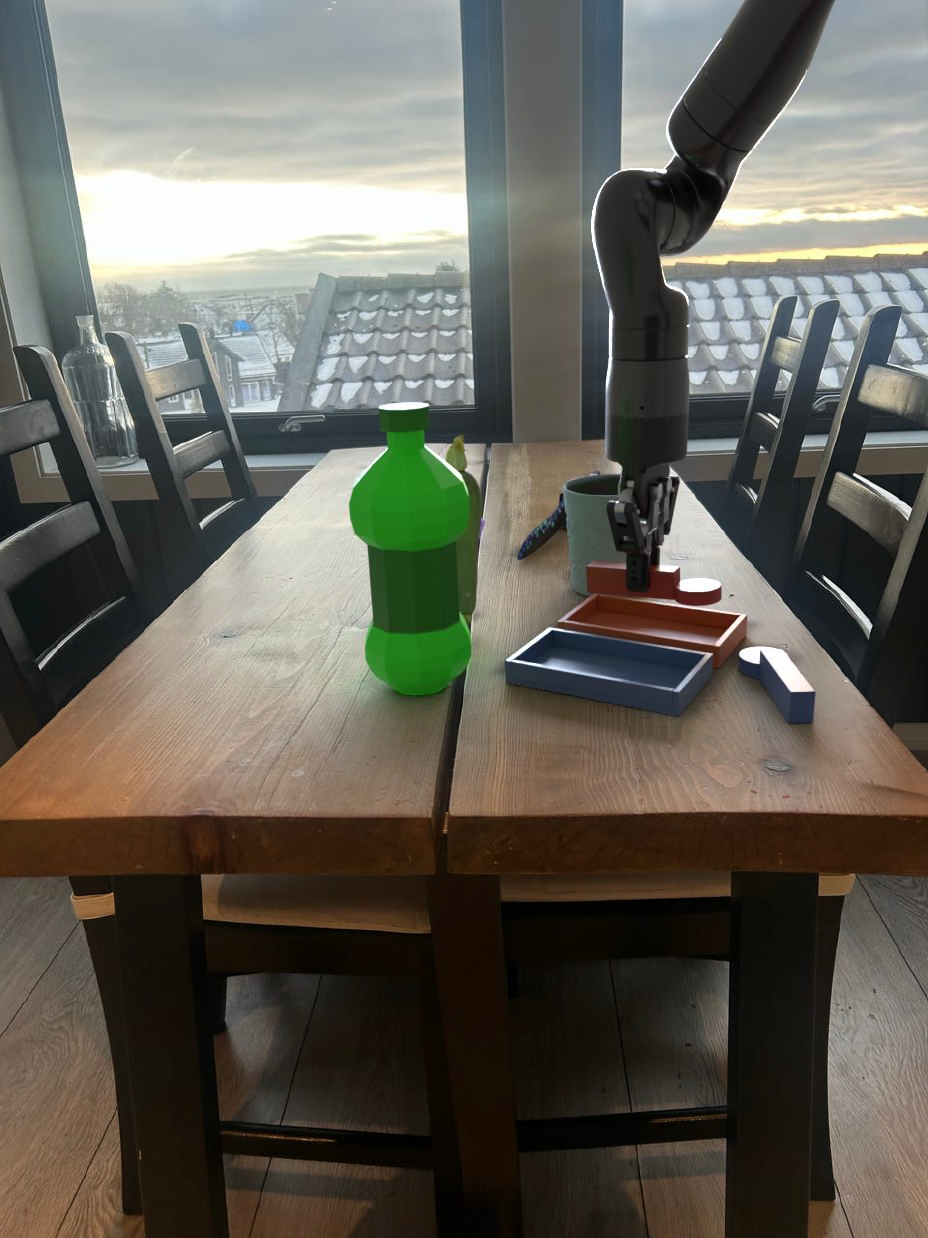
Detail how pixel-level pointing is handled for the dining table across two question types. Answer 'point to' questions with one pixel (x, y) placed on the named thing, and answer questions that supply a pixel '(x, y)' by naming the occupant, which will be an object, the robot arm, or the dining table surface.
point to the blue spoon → (780, 681)
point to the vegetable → (467, 533)
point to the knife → (546, 529)
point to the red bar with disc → (653, 584)
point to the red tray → (659, 624)
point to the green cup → (590, 525)
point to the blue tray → (611, 670)
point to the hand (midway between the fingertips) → (642, 585)
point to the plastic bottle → (412, 556)
